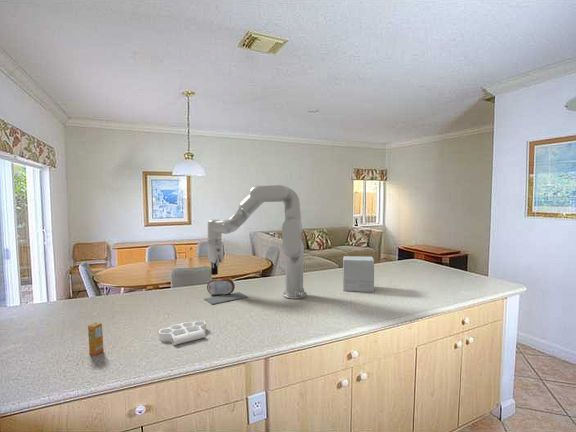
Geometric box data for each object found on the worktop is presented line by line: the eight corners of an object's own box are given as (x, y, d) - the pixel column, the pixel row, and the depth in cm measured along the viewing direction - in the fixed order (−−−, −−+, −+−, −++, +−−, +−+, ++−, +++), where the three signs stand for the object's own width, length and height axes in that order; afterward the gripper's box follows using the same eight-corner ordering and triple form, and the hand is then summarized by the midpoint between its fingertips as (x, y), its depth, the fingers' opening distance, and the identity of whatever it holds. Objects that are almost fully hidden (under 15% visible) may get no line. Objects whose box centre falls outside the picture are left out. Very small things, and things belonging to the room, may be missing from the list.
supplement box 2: (372, 286, 194) (372, 256, 194) (374, 292, 181) (374, 260, 180) (343, 285, 198) (343, 255, 197) (342, 291, 184) (343, 259, 183)
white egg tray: (164, 350, 114) (155, 335, 126) (213, 337, 124) (200, 325, 136) (164, 340, 114) (155, 327, 126) (213, 329, 124) (200, 317, 136)
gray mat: (247, 297, 173) (247, 296, 173) (212, 304, 161) (212, 303, 161) (239, 293, 181) (239, 292, 181) (204, 299, 169) (204, 298, 169)
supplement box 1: (88, 354, 111) (86, 325, 110) (97, 349, 114) (96, 321, 113) (95, 355, 109) (94, 326, 109) (104, 351, 113) (103, 322, 112)
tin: (235, 293, 178) (234, 278, 178) (233, 294, 175) (232, 279, 175) (208, 294, 179) (207, 279, 179) (206, 295, 176) (205, 280, 176)
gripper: (226, 243, 177) (226, 276, 178) (215, 239, 189) (215, 271, 190) (213, 244, 173) (213, 278, 174) (203, 240, 185) (202, 272, 186)
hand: (214, 274), depth 182 cm, fingers closed
